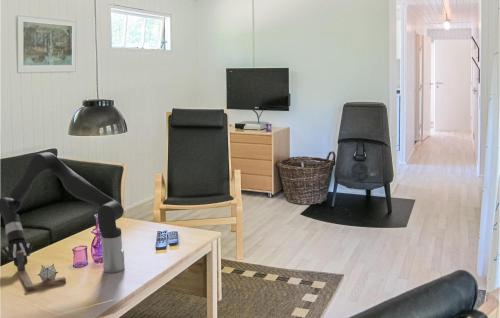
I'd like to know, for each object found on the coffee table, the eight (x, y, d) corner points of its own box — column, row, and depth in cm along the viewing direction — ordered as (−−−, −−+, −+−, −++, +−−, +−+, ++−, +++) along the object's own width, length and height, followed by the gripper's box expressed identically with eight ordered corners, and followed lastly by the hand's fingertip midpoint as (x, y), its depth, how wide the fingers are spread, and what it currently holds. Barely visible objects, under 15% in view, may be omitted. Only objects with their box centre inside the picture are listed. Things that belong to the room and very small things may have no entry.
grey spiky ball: (51, 290, 222) (48, 279, 215) (34, 283, 223) (32, 271, 216) (63, 275, 228) (61, 263, 221) (47, 267, 229) (45, 256, 222)
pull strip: (52, 263, 242) (51, 244, 241) (65, 283, 221) (64, 261, 219) (17, 271, 234) (15, 251, 232) (27, 292, 212) (25, 269, 210)
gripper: (-1, 232, 232) (5, 264, 224) (30, 226, 240) (38, 258, 232) (-2, 239, 237) (4, 271, 230) (29, 234, 245) (36, 265, 237)
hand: (21, 264), depth 231 cm, fingers closed on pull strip, 3 cm apart
